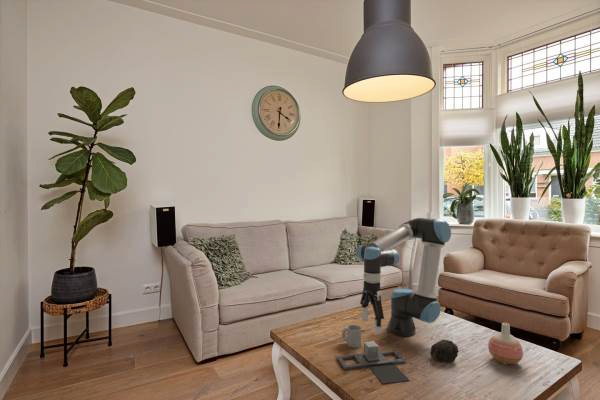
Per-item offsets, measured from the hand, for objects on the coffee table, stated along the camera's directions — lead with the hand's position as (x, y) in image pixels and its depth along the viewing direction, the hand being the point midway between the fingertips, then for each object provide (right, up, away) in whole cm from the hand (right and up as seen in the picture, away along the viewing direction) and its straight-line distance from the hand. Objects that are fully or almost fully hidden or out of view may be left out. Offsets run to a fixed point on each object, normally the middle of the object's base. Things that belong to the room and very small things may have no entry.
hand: (370, 326), depth 150 cm
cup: (-6, -16, +17) cm, 24 cm away
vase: (+62, -17, +1) cm, 65 cm away
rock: (+35, -17, +2) cm, 38 cm away
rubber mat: (+6, -16, -10) cm, 20 cm away
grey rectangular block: (0, -16, +1) cm, 16 cm away
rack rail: (0, -16, +1) cm, 16 cm away
